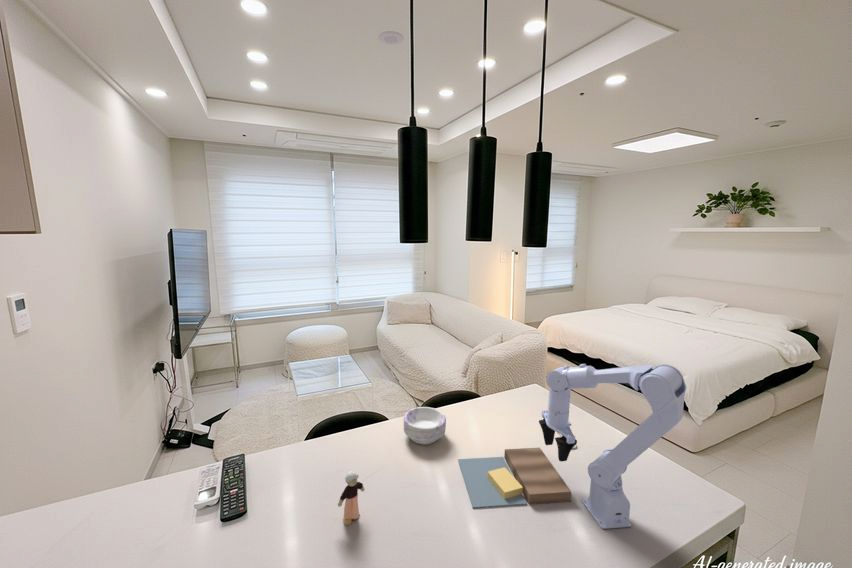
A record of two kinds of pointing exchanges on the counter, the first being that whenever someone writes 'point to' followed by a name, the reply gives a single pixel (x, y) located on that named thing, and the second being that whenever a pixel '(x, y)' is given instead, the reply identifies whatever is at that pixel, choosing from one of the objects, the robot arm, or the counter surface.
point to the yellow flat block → (505, 483)
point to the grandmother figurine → (351, 497)
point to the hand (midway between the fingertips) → (555, 452)
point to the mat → (485, 483)
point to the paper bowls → (424, 424)
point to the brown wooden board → (537, 476)
